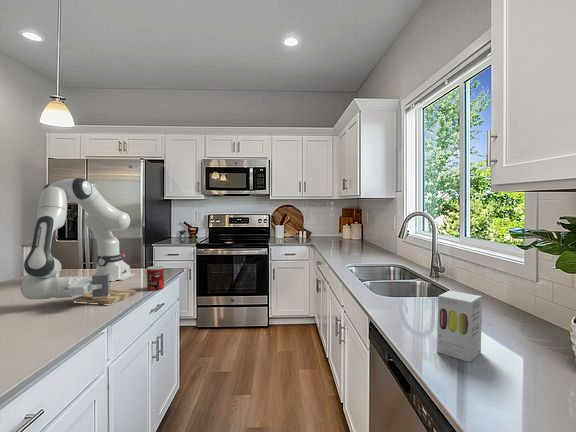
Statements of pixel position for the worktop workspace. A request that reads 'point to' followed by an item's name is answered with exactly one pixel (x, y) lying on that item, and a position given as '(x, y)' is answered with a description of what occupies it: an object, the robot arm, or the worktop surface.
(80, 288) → the robot arm
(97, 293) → the block
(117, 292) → the oak board
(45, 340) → the worktop surface
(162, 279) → the canned food
